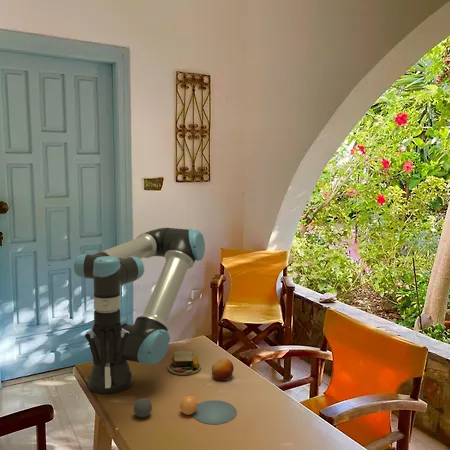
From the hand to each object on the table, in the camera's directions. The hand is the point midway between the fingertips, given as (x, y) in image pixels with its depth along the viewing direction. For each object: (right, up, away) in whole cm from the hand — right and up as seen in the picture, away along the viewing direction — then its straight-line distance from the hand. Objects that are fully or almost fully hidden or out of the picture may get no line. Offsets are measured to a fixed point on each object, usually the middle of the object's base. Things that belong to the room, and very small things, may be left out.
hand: (108, 385), depth 140 cm
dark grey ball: (+10, -8, +3) cm, 13 cm away
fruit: (+34, -7, +30) cm, 46 cm away
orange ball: (+24, -7, +4) cm, 25 cm away
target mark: (+32, -10, +6) cm, 34 cm away
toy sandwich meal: (+19, -7, +37) cm, 42 cm away
